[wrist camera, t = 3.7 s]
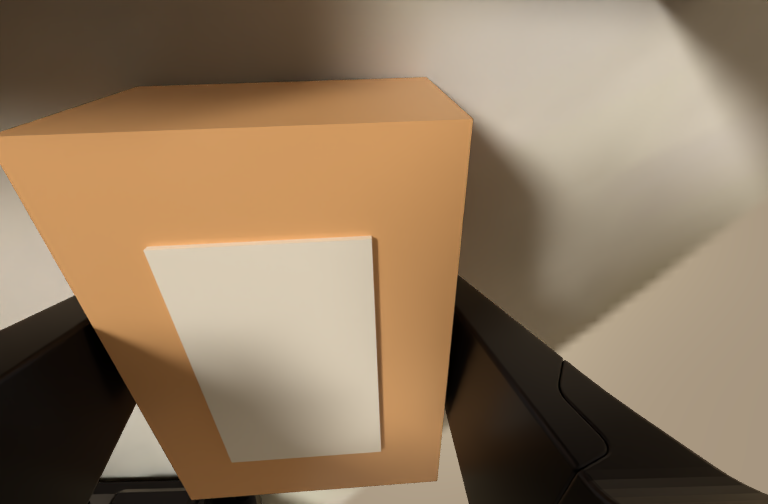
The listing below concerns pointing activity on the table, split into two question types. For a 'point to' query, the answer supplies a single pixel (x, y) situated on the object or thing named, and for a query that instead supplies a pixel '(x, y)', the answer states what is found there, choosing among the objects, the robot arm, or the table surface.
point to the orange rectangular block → (264, 269)
